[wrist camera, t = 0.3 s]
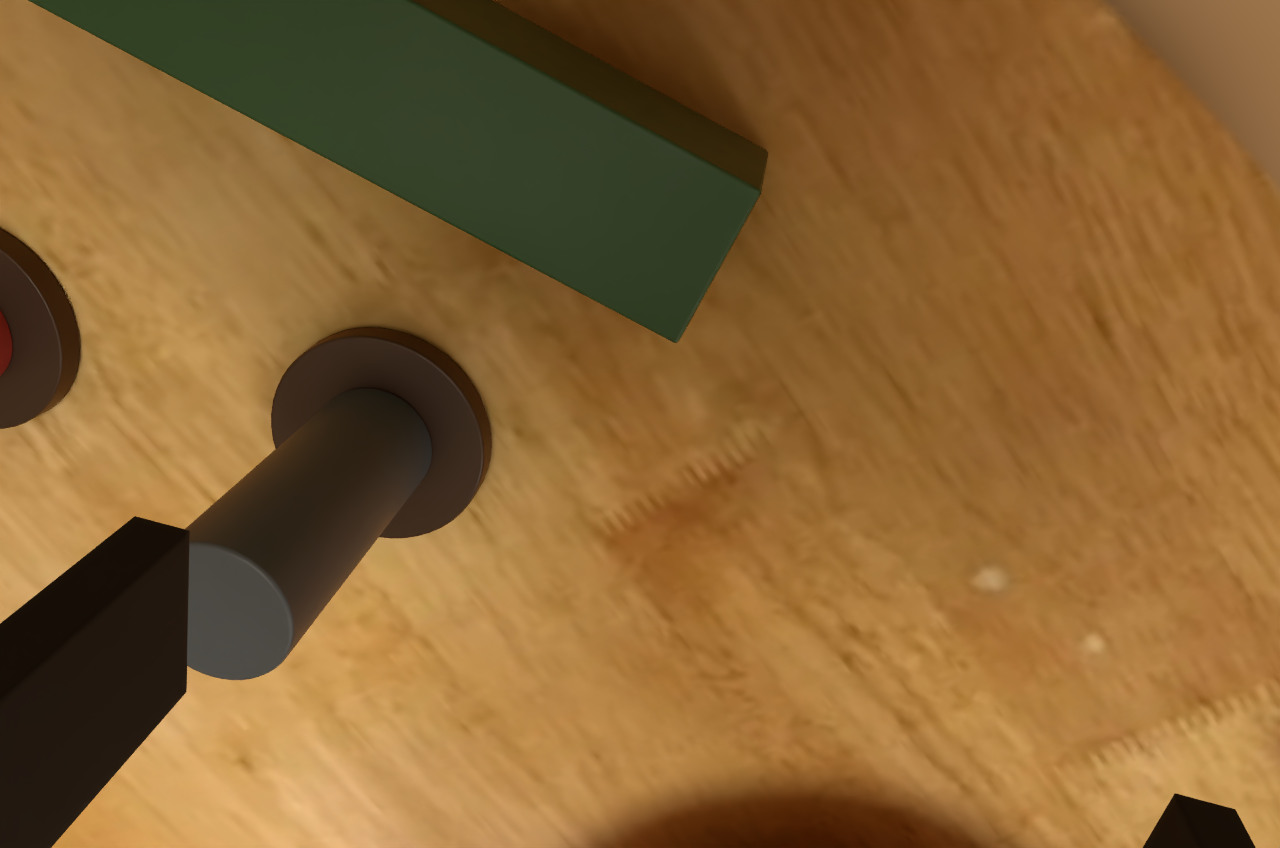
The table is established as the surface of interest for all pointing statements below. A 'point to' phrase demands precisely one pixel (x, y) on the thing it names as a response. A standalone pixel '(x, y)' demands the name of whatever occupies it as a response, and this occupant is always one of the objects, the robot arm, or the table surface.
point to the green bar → (474, 130)
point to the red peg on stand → (32, 336)
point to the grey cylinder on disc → (331, 492)
